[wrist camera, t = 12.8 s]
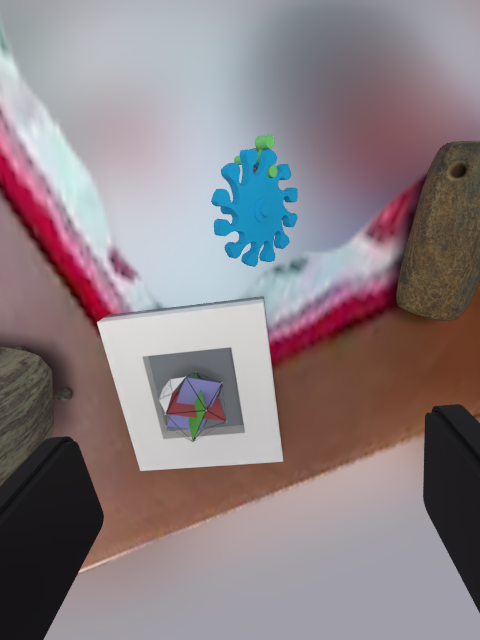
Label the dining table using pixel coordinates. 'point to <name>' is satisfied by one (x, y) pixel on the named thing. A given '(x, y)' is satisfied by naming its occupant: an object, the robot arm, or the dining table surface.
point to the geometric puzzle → (192, 403)
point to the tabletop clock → (24, 406)
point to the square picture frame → (204, 358)
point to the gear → (255, 203)
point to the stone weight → (444, 237)
